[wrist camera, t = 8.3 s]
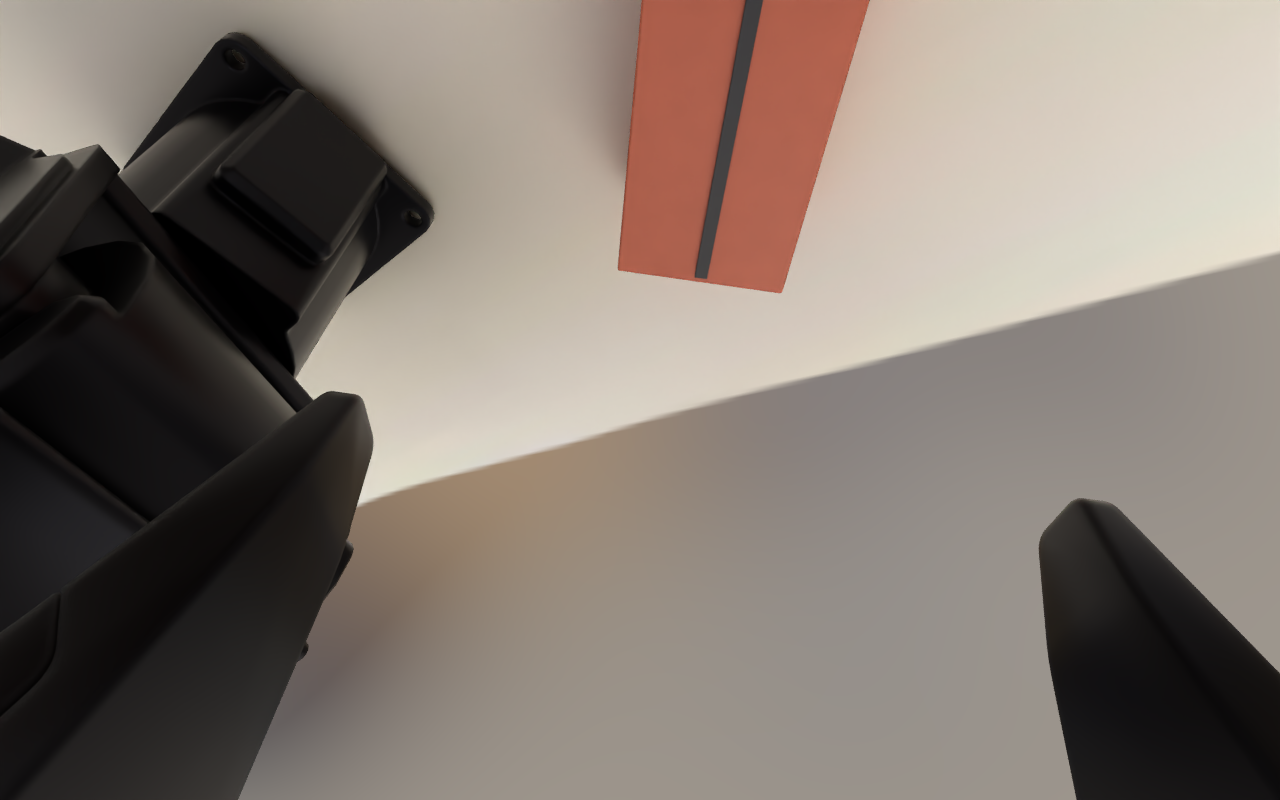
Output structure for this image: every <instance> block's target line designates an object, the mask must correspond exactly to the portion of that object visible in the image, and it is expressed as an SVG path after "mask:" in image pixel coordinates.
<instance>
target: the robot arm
mask: <svg viewBox="0 0 1280 800" xmlns="http://www.w3.org/2000/svg"><path fill="white" fill-rule="evenodd" d="M232 50H235V51H237V52H239V53H240V54H241V55H242V57H243V58H244V60H245V63H246V64H243V63H241V62H240V61H238V60H237V59H236V58H235V56H234V55H233V52H232ZM119 171H120V168H119V167H118V166H117V165H116V164H115V163H114V161H113V160H112V159H111V158H110V157H109V156H108V154H107V153H106V152H105V151H104V150H103V149H102V147H101V146H100V145H98V144H97V145H93V146H89V147H86V148H83V149H80V150H76V151H73V152H70V153H67V154H58V155H52V156H46V155H45V153H44V152H43V151H42V150H41V149H39V150H36V151H35V150H33V149H30V148H28V147H26V146H23V145H21V144H19V143H17V142H14V141H12V140H10V139H7V138H5V137H3V136H1V135H0V800H238V798H239V796H240V794H241V791H242V789H243V786H244V784H245V782H246V780H247V777H248V775H249V772H250V770H251V768H252V766H253V763H254V761H255V759H256V756H257V754H258V751H259V749H260V747H261V745H262V742H263V740H264V738H265V735H266V733H267V731H268V728H269V726H270V724H271V721H272V719H273V717H274V714H275V712H276V710H277V707H278V705H279V703H280V700H281V698H282V696H283V693H284V691H285V689H286V686H287V684H288V682H289V679H290V677H291V675H292V672H293V670H294V668H295V666H296V663H297V662H298V661H299V660H301V659H302V658H303V657H304V656H305V655H306V653H307V651H308V644H307V643H306V640H307V638H308V635H309V633H310V631H311V628H312V626H313V624H314V621H315V619H316V617H317V614H318V612H319V610H320V607H321V605H322V603H323V601H324V599H325V598H326V597H327V596H328V594H329V593H330V592H331V590H332V589H333V588H334V587H335V586H336V584H337V582H338V580H339V578H340V577H341V575H342V573H343V571H344V569H345V568H346V566H347V564H348V562H349V561H350V558H351V556H352V553H353V545H352V543H350V542H349V541H348V539H347V538H348V535H349V532H350V527H351V523H352V520H353V516H354V513H355V510H356V506H357V503H358V500H359V496H360V493H361V489H362V486H363V483H364V479H365V476H366V472H367V469H368V466H369V462H370V459H371V455H372V451H373V434H372V431H371V427H370V423H369V419H368V416H367V412H366V408H365V404H364V402H363V399H362V398H361V397H360V396H358V395H356V394H349V393H342V392H335V391H330V392H326V393H324V394H322V395H320V396H319V397H318V398H316V399H315V400H313V399H312V398H311V397H310V396H309V395H308V393H307V392H306V391H305V390H304V389H303V388H302V387H301V385H300V384H299V383H298V382H297V381H296V380H295V378H296V377H297V375H298V373H299V372H300V370H301V368H302V367H303V365H304V364H305V362H306V360H307V359H308V357H309V355H310V354H311V352H312V350H313V349H314V347H315V345H316V344H317V342H318V341H319V339H320V337H321V336H322V334H323V332H324V331H325V329H326V327H327V326H328V324H329V322H330V321H331V319H332V318H333V316H334V314H335V313H336V311H337V309H338V308H339V306H340V304H341V303H342V301H343V299H344V298H345V297H346V296H347V295H348V294H349V293H351V292H352V291H353V290H354V289H356V288H357V287H358V286H359V285H361V284H362V283H363V282H364V281H365V280H367V279H368V278H369V277H370V276H372V275H373V274H374V273H375V272H377V271H378V270H379V269H380V268H382V267H383V266H384V265H385V264H386V263H388V262H389V261H390V260H391V259H393V258H394V257H395V256H396V255H398V254H399V253H400V252H401V251H402V250H404V249H405V248H406V247H407V246H409V245H410V244H411V243H412V242H414V241H415V240H416V239H417V238H418V237H420V236H421V235H422V234H423V233H425V232H426V231H427V230H428V228H429V227H430V225H431V223H432V221H433V219H434V211H433V208H432V206H431V205H430V204H429V203H428V202H427V201H426V200H425V199H424V198H423V197H422V196H421V195H420V194H419V193H418V192H416V191H415V190H414V189H413V188H412V187H411V186H410V185H409V184H408V183H407V182H406V181H405V180H403V179H402V178H401V177H400V176H399V175H398V174H397V173H396V172H395V171H394V170H393V169H391V168H390V167H389V166H388V165H387V164H386V163H385V162H384V160H383V159H382V158H381V157H379V156H378V155H377V154H376V153H375V152H374V151H373V150H372V149H371V148H370V147H369V146H368V145H366V144H365V143H364V142H363V141H362V140H361V139H360V138H359V137H358V136H357V135H356V134H354V133H353V132H352V131H351V130H350V129H349V128H348V127H347V126H346V125H345V124H344V123H342V122H341V121H340V120H339V119H338V118H337V117H336V116H335V115H334V114H333V113H332V112H331V111H329V110H328V109H327V108H326V107H325V106H324V105H323V104H322V103H321V102H320V101H319V100H317V99H316V98H315V97H314V96H313V95H312V94H311V93H310V92H308V91H307V90H305V89H304V88H303V87H302V86H301V85H300V84H299V83H298V82H297V81H296V80H295V79H293V78H292V77H291V76H290V75H289V74H288V73H287V72H286V71H285V70H284V69H283V68H282V67H280V66H279V65H278V64H277V63H276V62H275V61H274V60H273V59H272V58H271V57H270V56H268V55H267V54H266V53H265V52H264V51H263V50H262V49H261V48H260V47H259V46H258V45H256V44H255V43H254V42H253V41H252V40H251V39H249V38H248V37H246V36H245V35H242V34H239V33H229V34H227V35H226V36H224V37H223V38H222V39H220V40H219V41H218V42H217V43H215V45H214V46H213V48H212V49H211V50H210V52H209V53H208V54H207V56H206V57H205V58H204V60H203V61H202V62H201V64H200V65H199V66H198V68H197V69H196V70H195V72H194V73H193V75H192V76H191V77H190V79H189V80H188V81H187V83H186V84H185V85H184V87H183V88H182V89H181V91H180V92H179V93H178V95H177V96H176V98H175V99H174V100H173V102H172V103H171V104H170V106H169V107H168V108H167V110H166V111H165V112H164V114H163V115H162V116H161V118H160V119H159V121H158V122H157V123H156V125H155V126H154V127H153V129H152V130H151V131H150V133H149V134H148V135H147V137H146V138H145V139H144V141H143V142H142V143H141V145H140V146H139V148H138V149H137V150H136V152H135V153H134V154H133V156H132V157H131V158H130V160H129V161H128V162H127V164H126V165H125V166H124V169H123V171H122V172H121V173H120V174H118V173H119ZM409 211H414V212H416V213H418V214H419V216H420V217H421V219H418V218H415V217H413V216H412V215H411V214H410V213H409ZM1039 558H1040V570H1041V582H1042V594H1043V604H1044V617H1045V629H1046V640H1047V649H1048V658H1049V664H1050V670H1051V676H1052V681H1053V686H1054V691H1055V696H1056V701H1057V705H1058V710H1059V715H1060V720H1061V725H1062V730H1063V735H1064V740H1065V745H1066V750H1067V755H1068V760H1069V765H1070V769H1071V774H1072V779H1073V784H1074V789H1075V794H1076V799H1077V800H1280V673H1279V672H1278V671H1277V670H1276V669H1275V668H1274V667H1273V666H1272V665H1271V664H1270V663H1269V662H1268V661H1267V660H1266V659H1265V658H1264V657H1263V656H1262V655H1261V654H1260V653H1259V652H1258V651H1257V650H1256V649H1255V648H1254V647H1253V645H1252V644H1250V642H1248V641H1247V639H1246V638H1245V637H1244V636H1243V635H1242V634H1241V633H1240V632H1239V631H1238V630H1237V629H1236V628H1235V627H1234V626H1233V625H1232V624H1231V623H1230V622H1229V621H1228V620H1227V619H1226V618H1225V617H1224V616H1223V615H1222V614H1221V613H1220V612H1219V611H1218V610H1217V609H1216V608H1215V607H1214V606H1213V605H1212V604H1211V603H1210V602H1209V601H1208V600H1207V599H1206V598H1205V596H1204V595H1203V594H1201V592H1200V591H1199V590H1198V589H1196V587H1194V585H1192V583H1191V582H1190V581H1189V580H1188V579H1187V578H1186V577H1185V576H1184V575H1183V574H1182V573H1181V572H1180V571H1179V570H1178V569H1177V568H1176V567H1175V566H1174V565H1173V564H1172V563H1171V562H1170V561H1169V560H1168V559H1167V558H1166V557H1165V556H1164V555H1163V554H1162V553H1161V552H1160V551H1159V550H1158V548H1157V547H1156V546H1155V545H1154V544H1153V543H1152V542H1151V541H1150V540H1149V539H1148V538H1147V537H1146V536H1145V535H1144V534H1143V533H1142V532H1141V531H1140V530H1139V529H1138V528H1137V527H1136V526H1135V525H1134V524H1133V523H1132V522H1131V521H1130V520H1129V519H1128V518H1127V517H1126V516H1125V515H1124V514H1123V513H1122V512H1121V511H1120V510H1119V509H1118V508H1117V507H1116V506H1114V505H1113V504H1111V503H1108V502H1104V501H1098V500H1091V499H1084V498H1079V499H1076V500H1073V501H1071V502H1070V503H1069V504H1068V505H1067V507H1066V508H1065V509H1064V510H1063V511H1062V512H1061V513H1060V514H1059V515H1058V516H1057V517H1056V519H1055V520H1054V521H1053V522H1052V523H1051V524H1050V525H1049V526H1048V527H1047V528H1046V530H1045V531H1044V532H1043V534H1042V536H1041V539H1040V543H1039Z"/></svg>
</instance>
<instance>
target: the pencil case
mask: <svg viewBox="0 0 1280 800" xmlns="http://www.w3.org/2000/svg"><path fill="white" fill-rule="evenodd" d="M869 1H870V0H642V3H641V14H640V25H639V37H638V48H637V59H636V70H635V81H634V92H633V104H632V115H631V126H630V137H629V148H628V159H627V170H626V182H625V193H624V204H623V215H622V226H621V237H620V249H619V260H618V270H620V271H627V272H634V273H641V274H648V275H655V276H662V277H669V278H676V279H683V280H690V281H697V282H705V283H712V284H719V285H726V286H733V287H740V288H747V289H754V290H761V291H768V292H775V293H781V292H782V291H783V287H784V284H785V281H786V277H787V274H788V271H789V267H790V264H791V261H792V257H793V254H794V251H795V247H796V244H797V241H798V237H799V234H800V231H801V227H802V224H803V221H804V217H805V214H806V211H807V207H808V204H809V201H810V197H811V194H812V191H813V187H814V184H815V181H816V177H817V174H818V171H819V167H820V164H821V161H822V157H823V154H824V151H825V147H826V144H827V141H828V137H829V134H830V131H831V127H832V124H833V121H834V117H835V114H836V111H837V107H838V104H839V101H840V97H841V94H842V91H843V87H844V84H845V81H846V77H847V74H848V71H849V67H850V64H851V61H852V57H853V54H854V51H855V47H856V44H857V41H858V37H859V34H860V31H861V27H862V24H863V21H864V17H865V14H866V11H867V7H868V4H869Z"/></svg>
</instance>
